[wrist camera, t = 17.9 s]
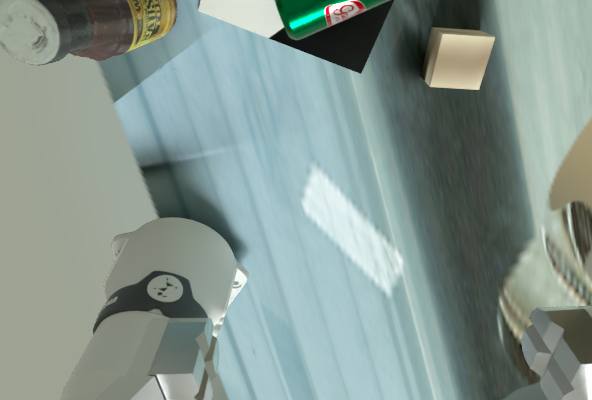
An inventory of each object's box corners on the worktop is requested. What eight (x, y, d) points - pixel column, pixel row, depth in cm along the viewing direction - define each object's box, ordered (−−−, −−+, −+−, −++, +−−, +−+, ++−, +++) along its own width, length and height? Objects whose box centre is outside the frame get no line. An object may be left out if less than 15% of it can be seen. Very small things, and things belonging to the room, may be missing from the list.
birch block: (465, 78, 42) (478, 89, 39) (420, 76, 42) (429, 86, 39) (479, 30, 40) (495, 37, 36) (431, 27, 40) (442, 33, 36)
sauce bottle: (188, 30, 40) (105, 84, 23) (133, 42, 41) (14, 103, 24) (165, -43, 37) (48, -40, 20) (105, -28, 38) (-57, -13, 21)
